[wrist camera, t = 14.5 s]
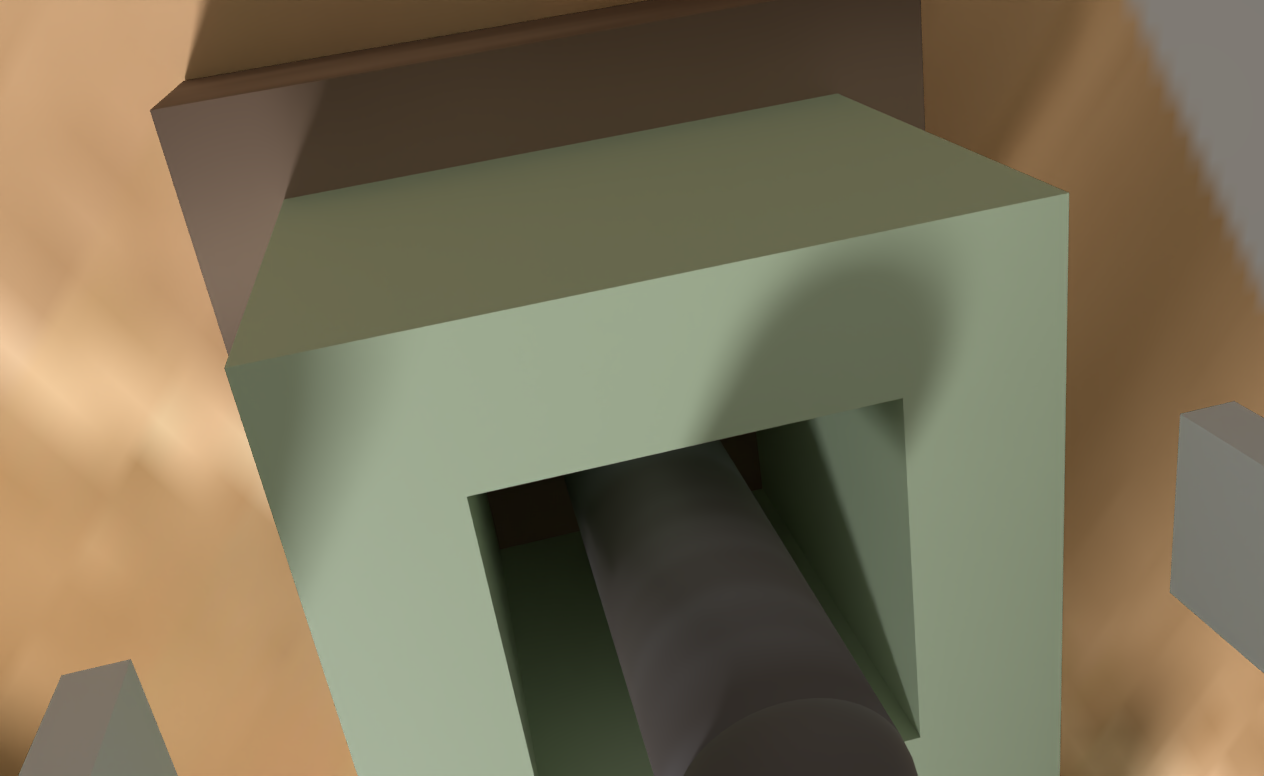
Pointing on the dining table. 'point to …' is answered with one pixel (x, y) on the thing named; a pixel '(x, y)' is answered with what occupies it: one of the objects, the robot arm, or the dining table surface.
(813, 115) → the green square socket block
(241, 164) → the rod stand
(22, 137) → the dining table surface
